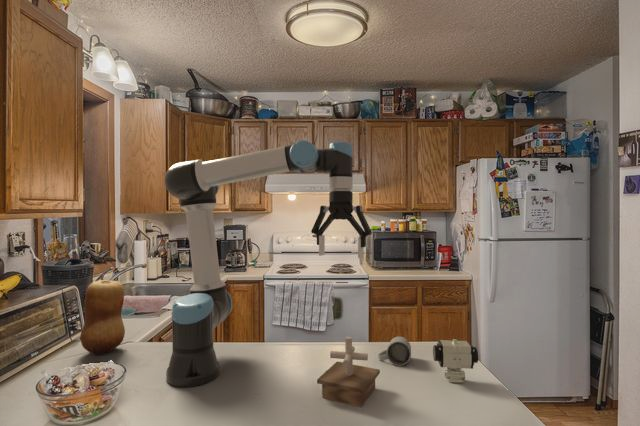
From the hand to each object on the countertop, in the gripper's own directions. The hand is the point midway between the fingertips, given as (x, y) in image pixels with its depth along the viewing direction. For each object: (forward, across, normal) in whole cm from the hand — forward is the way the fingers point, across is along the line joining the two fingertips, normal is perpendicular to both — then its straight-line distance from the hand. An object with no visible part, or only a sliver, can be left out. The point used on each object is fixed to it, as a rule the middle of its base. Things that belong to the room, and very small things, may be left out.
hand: (340, 256), depth 122 cm
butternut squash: (+35, +78, +28) cm, 90 cm away
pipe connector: (+30, -10, +18) cm, 36 cm away
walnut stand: (+34, -10, +18) cm, 40 cm away
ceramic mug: (+35, -16, -9) cm, 39 cm away
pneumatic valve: (+34, -35, -2) cm, 49 cm away
